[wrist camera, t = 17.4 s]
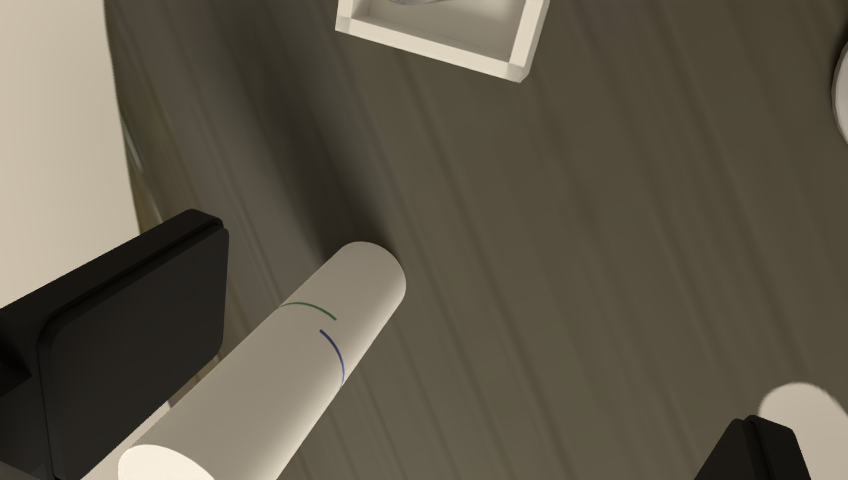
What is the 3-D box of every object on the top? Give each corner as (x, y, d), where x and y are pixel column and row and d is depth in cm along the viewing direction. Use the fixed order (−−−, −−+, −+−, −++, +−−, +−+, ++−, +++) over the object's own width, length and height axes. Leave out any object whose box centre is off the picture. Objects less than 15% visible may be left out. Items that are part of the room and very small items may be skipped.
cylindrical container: (366, 326, 53) (186, 565, 32) (316, 266, 52) (96, 471, 31) (422, 291, 50) (263, 532, 28) (369, 226, 49) (164, 425, 27)
